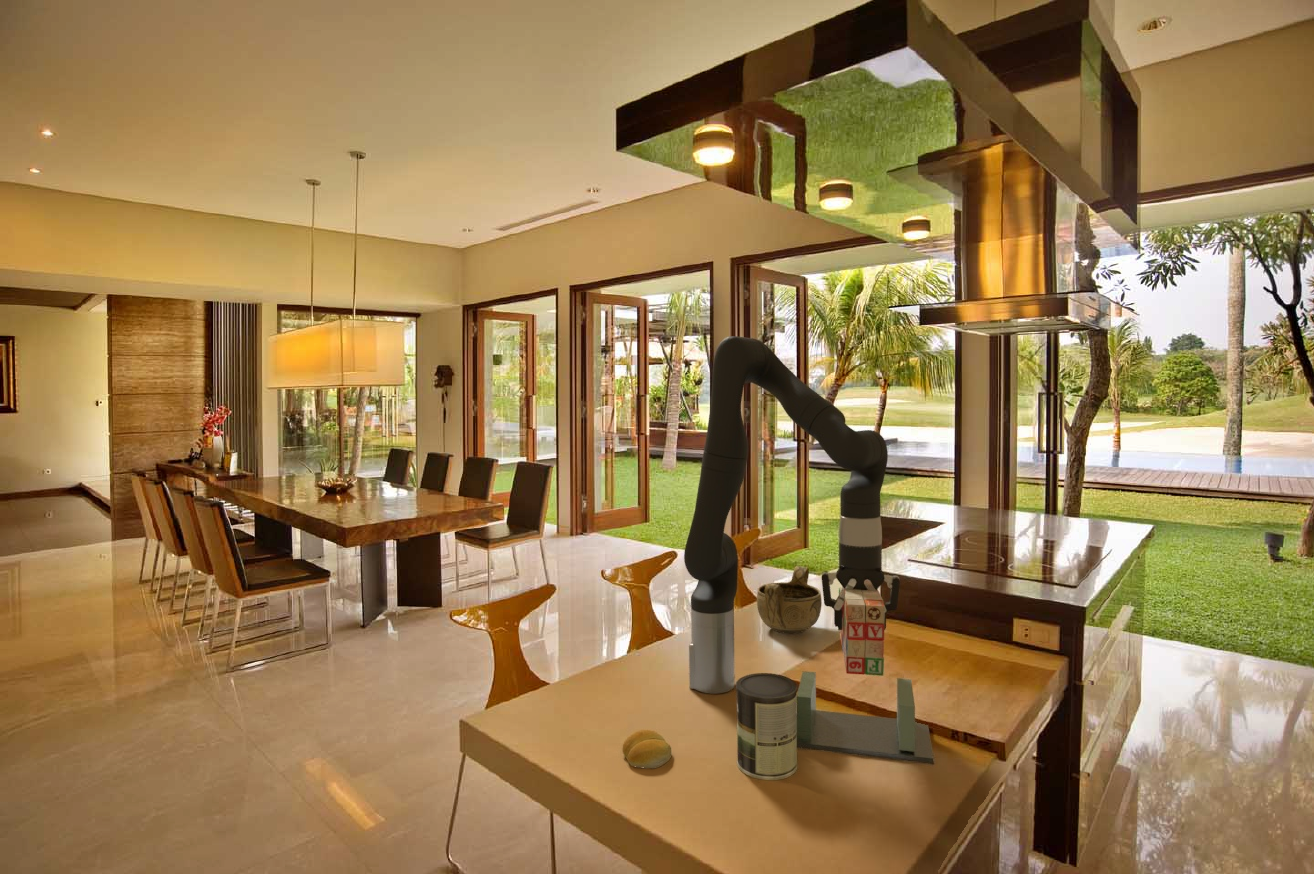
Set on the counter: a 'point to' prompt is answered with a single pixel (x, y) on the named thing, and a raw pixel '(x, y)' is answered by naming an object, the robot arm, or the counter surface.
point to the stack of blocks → (863, 632)
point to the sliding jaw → (905, 715)
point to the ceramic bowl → (790, 603)
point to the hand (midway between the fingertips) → (860, 630)
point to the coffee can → (767, 726)
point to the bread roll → (646, 749)
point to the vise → (853, 730)
